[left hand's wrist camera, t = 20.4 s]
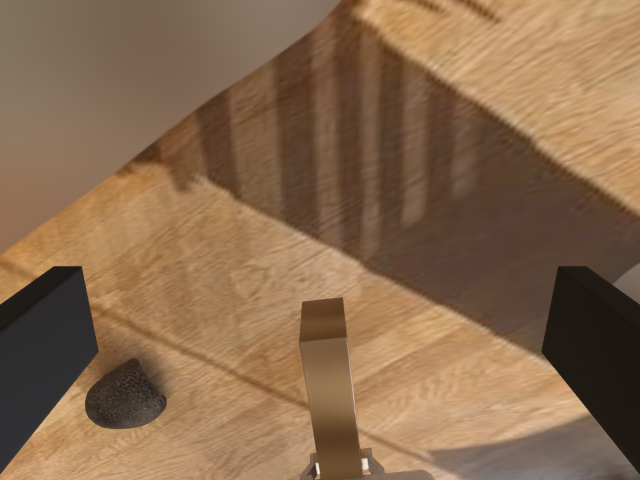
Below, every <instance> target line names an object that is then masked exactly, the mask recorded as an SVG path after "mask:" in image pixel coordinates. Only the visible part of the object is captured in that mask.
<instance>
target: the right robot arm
mask: <svg viewBox="0 0 640 480" xmlns="http://www.w3.org/2000/svg"><path fill="white" fill-rule="evenodd" d="M360 454H361V463H362V470H369V471H370V472H371V473H372V475H363V478H355V479H344V480H435V479H434V477H433V476H432V475H431V474H430V473H428V472H427V471H425V470H416V471H405V472H394V473H384V468H383V467H382V466H381V465H380V464H379V463H378V462H377V461H376V460H375V459H374V458H373V456H372V449H371V448H364V449H360ZM317 474H320V471H319V465H318V458H317V453H311V454H310V464H309V465H308V466H307V467H306V469H305V470H304V471H303V473H302V474H301V475H300V480H314V479H315V478H316V476H317ZM317 480H321V479H317Z"/></svg>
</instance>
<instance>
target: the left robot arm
mask: <svg viewBox="0 0 640 480" xmlns="http://www.w3.org/2000/svg"><path fill="white" fill-rule="evenodd" d="M98 352H99V351H98V346H97V341H96V336H95V331H94V326H93V321H92V316H91V311H90V306H89V301H88V296H87V291H86V286H85V281H84V275H83V270H82V266H54V267H52V268H51V269H49V270H48V271H47V272H45V273H44V274H42V275H41V276H40V277H38V278H37V279H35V280H34V281H33V282H31V283H30V284H28V285H27V286H26V287H24V288H23V289H21V290H20V291H19V292H17V293H16V294H14V295H13V296H12V297H10V298H9V299H7V300H6V301H5V302H3V303H2V304H0V474H1V473H2V472H3V470H4V469H5V468H6V467H7V465H8V464H9V463H10V462H11V460H12V459H13V458H14V457H15V455H16V454H17V453H18V452H19V450H20V449H21V448H22V447H23V445H24V444H25V443H26V442H27V440H28V439H29V438H30V437H31V435H32V434H33V433H34V432H35V430H36V429H37V428H38V427H39V425H40V424H41V423H42V422H43V420H44V419H45V418H46V417H47V415H48V414H49V413H50V412H51V410H52V409H53V408H54V407H55V406H56V404H57V403H58V402H59V401H60V399H61V398H62V397H63V396H64V394H65V393H66V392H67V391H68V389H69V388H70V387H71V386H72V384H73V383H74V382H75V381H76V379H77V378H78V377H79V376H80V374H81V373H82V372H83V371H84V369H85V368H86V367H87V366H88V364H89V363H90V362H91V361H92V359H93V358H94V357H95V356H96V354H97V353H98ZM541 352H542V353H543V354H544V356H545V357H546V358H547V359H548V361H549V362H550V363H551V364H552V366H553V367H554V368H555V369H556V371H557V372H558V373H559V374H560V376H561V377H562V378H563V379H564V381H565V382H566V383H567V384H568V386H569V387H570V388H571V389H572V391H573V392H574V393H575V394H576V396H577V397H578V398H579V399H580V401H581V402H582V403H583V404H584V406H585V407H586V408H587V409H588V410H589V412H590V413H591V414H592V415H593V417H594V418H595V419H596V420H597V422H598V423H599V424H600V425H601V427H602V428H603V429H604V430H605V432H606V433H607V434H608V435H609V437H610V438H611V439H612V440H613V442H614V443H615V444H616V445H617V447H618V448H619V449H620V450H621V452H622V453H623V454H624V455H625V457H626V458H627V459H628V460H629V462H630V463H631V464H632V465H633V467H634V468H635V469H636V470H637V472H638V473H639V474H640V305H639V304H638V303H637V302H635V301H634V300H633V299H631V298H630V297H628V296H627V295H626V294H624V293H623V292H621V291H620V290H619V289H617V288H616V287H614V286H613V285H612V284H610V283H609V282H607V281H606V280H605V279H603V278H602V277H600V276H599V275H598V274H596V273H595V272H593V271H592V270H591V269H589V268H588V267H586V266H558V270H557V275H556V281H555V286H554V291H553V296H552V301H551V306H550V311H549V316H548V321H547V326H546V331H545V336H544V341H543V346H542V351H541Z"/></svg>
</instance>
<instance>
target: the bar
mask: <svg viewBox="0 0 640 480" xmlns="http://www.w3.org/2000/svg"><path fill="white" fill-rule="evenodd" d="M299 344H300V351H301V357H302V363H303V370H304V376H305V382H306V389H307V395H308V401H309V408H310V414H311V420H312V427H313V433H314V439H315V446H316V452H317V458H318V465H319V471H320V477H321V480H344V479H355V478H363V472H362V463H361V454H360V445H359V436H358V427H357V418H356V409H355V400H354V392H353V383H352V374H351V365H350V356H349V347H348V339H347V330H346V321H345V312H344V303H343V298H333V299H323V300H314V301H304V302H302V310H301V324H300V337H299Z"/></svg>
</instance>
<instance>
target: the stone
mask: <svg viewBox="0 0 640 480" xmlns="http://www.w3.org/2000/svg"><path fill="white" fill-rule="evenodd" d="M165 407H166V397H164V396H163V395H160V394H159V393H158V392H157V391H156V390H155V388H154V387H153V386H152V384H151V382H150V381H149V380H148V378H147V377H146V375H145V374H144V372H143V371H142V369H141V367H140V363H139V361H138V360H137V359H132V360H129V361H128V362H126V363H125V364H123V365H122V366H120V367H119V368H117V369H116V370H114V371H111V372H109V373H108V374H106V375H105V376H104V377H103V378H101V379H100V380H99V381H98V382H97V383H96V384H94V385H93V386H92V387H91V389H90V390H89V391H88V393H87V396H86V400H85V409H86V413H87V415H88V417H89V418H90V419H91V420H92V421H93V422H94V423H95V424H97V425H99V426H101V427H103V428H110V429H130V428H135V427H139V426H143V425H145V424H148V423H150V422H151V421H153V420H154V419H155V418H157V417H158V416H159V415H160V414H161V413H162V412H163V410H164V409H165Z"/></svg>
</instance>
